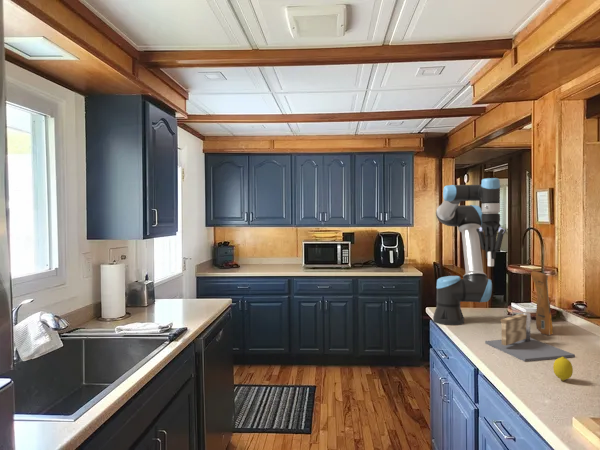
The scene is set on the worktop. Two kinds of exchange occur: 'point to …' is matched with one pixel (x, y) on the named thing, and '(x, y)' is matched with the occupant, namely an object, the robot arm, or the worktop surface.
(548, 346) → the mat
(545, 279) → the pancake mix bag
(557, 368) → the lemon
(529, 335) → the posts
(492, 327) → the worktop surface
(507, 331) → the light wood flat slab
